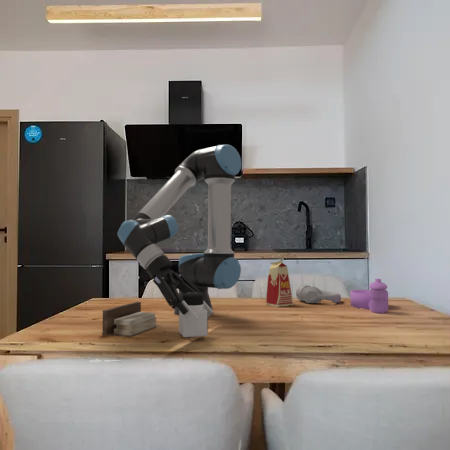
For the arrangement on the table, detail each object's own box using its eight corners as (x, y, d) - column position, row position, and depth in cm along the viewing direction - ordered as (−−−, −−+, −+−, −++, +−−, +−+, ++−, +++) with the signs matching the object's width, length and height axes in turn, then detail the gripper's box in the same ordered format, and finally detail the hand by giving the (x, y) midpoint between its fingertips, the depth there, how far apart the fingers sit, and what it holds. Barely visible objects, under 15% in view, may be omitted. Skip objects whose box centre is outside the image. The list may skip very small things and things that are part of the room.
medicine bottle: (208, 336, 116) (208, 293, 117) (183, 337, 114) (183, 294, 115) (202, 330, 123) (202, 290, 124) (178, 332, 121) (178, 291, 122)
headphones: (306, 304, 178) (347, 309, 183) (308, 286, 179) (349, 291, 183) (289, 298, 196) (327, 303, 201) (291, 282, 197) (329, 287, 201)
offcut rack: (102, 338, 119) (102, 310, 120) (136, 326, 136) (136, 301, 136) (130, 341, 116) (130, 312, 116) (161, 328, 133) (161, 303, 133)
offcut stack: (113, 333, 120) (114, 319, 120) (140, 324, 133) (140, 311, 134) (131, 335, 118) (131, 320, 118) (156, 325, 131) (156, 312, 131)
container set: (347, 303, 184) (346, 274, 185) (382, 304, 183) (381, 274, 183) (361, 313, 159) (360, 279, 160) (401, 314, 158) (400, 280, 159)
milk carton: (293, 305, 180) (293, 259, 181) (277, 307, 175) (277, 260, 175) (279, 302, 187) (279, 259, 188) (264, 304, 182) (263, 259, 183)
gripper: (165, 268, 135) (209, 319, 129) (126, 273, 114) (176, 335, 108) (180, 252, 134) (225, 303, 128) (142, 255, 113) (194, 316, 107)
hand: (202, 318), depth 118 cm, fingers open, 10 cm apart
